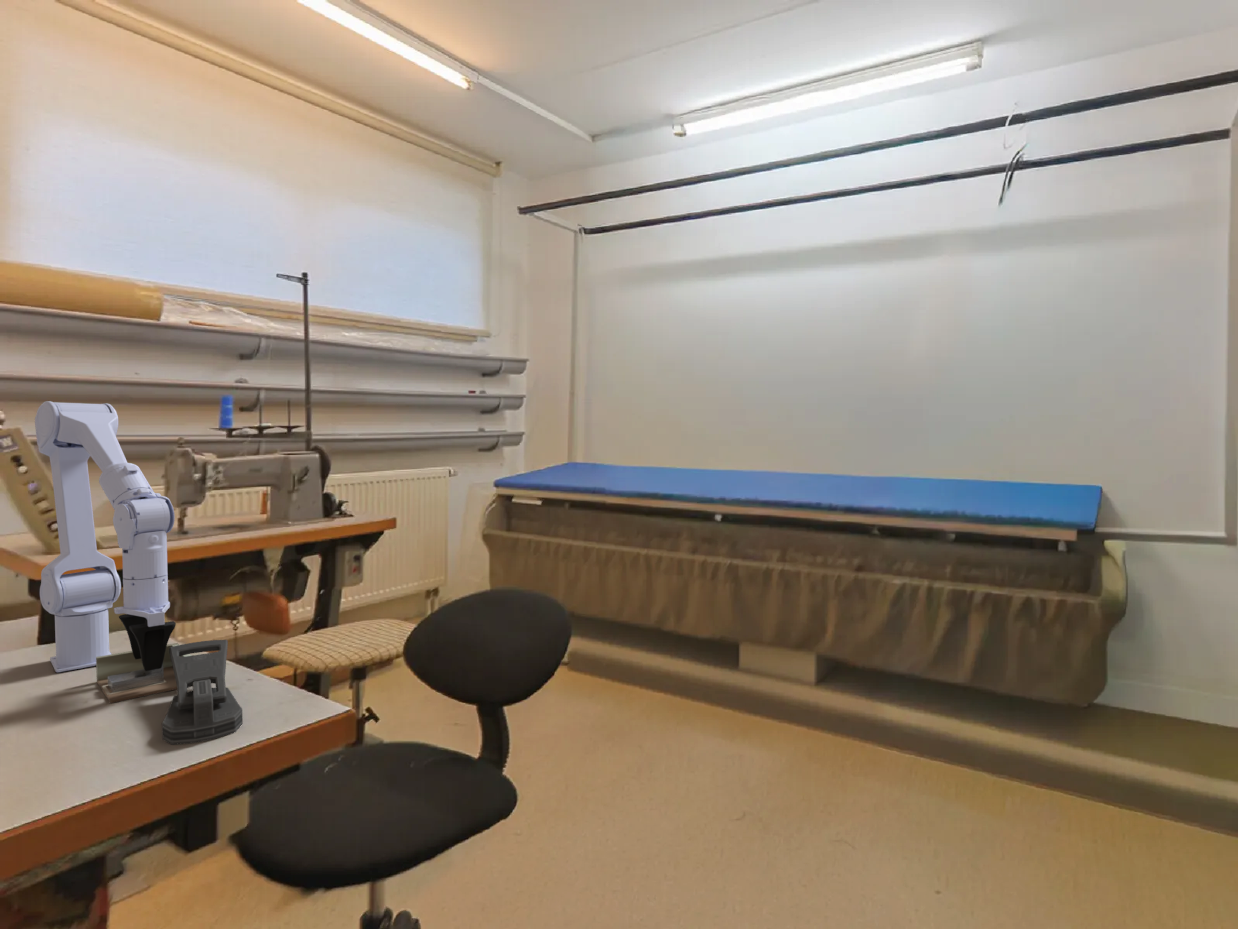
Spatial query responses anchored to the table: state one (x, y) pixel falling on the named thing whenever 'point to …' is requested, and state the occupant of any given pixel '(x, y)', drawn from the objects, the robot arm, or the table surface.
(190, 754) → the table surface
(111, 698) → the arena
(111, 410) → the robot arm
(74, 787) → the table surface
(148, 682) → the angle bracket
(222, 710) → the zipper pull
